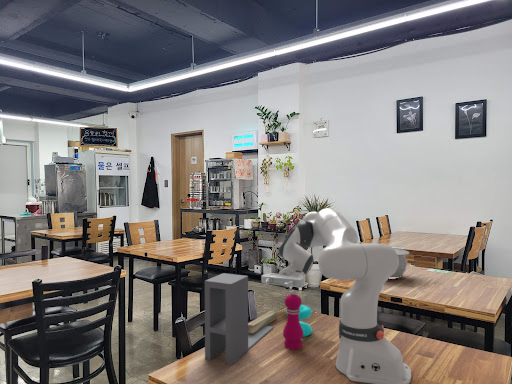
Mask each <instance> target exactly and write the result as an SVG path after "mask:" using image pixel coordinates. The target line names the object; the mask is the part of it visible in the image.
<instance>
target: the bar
mask: <svg viewBox="0 0 512 384" xmlns="http://www.w3.org/2000/svg"><path fill="white" fill-rule="evenodd" d="M277 319H278V311H276V310H269V311H268V312H266V313H264V314H262V315H260V316H258V317H257V318H255V319H253V320H252V321H249V322H248V333H252V334H253V333H255V332H256V331H258V330H260V329H261V328H263V327H264V326H269V325H270V323H272V322H274V321H275V320H277Z"/></svg>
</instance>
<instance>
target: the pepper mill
mask: <svg viewBox="0 0 512 384" xmlns="http://www.w3.org/2000/svg"><path fill="white" fill-rule="evenodd" d="M284 305H285V307H286V308H285V312H287V313H286V315H287V319H286V323H285V325H284V326H283V329H282V330H283V331H282V332H283V333H282V336H283V337H284V342H283V343H284V344H283V345H284V347H285V348H286V349H288V350H300V349H301V348H302V346H303V341H302V339H303V338H304V337H303V330H302V327H301V325H300V322H301V321H300V319H299V313H300V308H299V307H300V306H301V305H302V299H301V297H300V296H299V295H297V294H296V290H294V289H292V290H291V291H290V294H288V295H286V297H285V298H284ZM299 321H300V322H299Z"/></svg>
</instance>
